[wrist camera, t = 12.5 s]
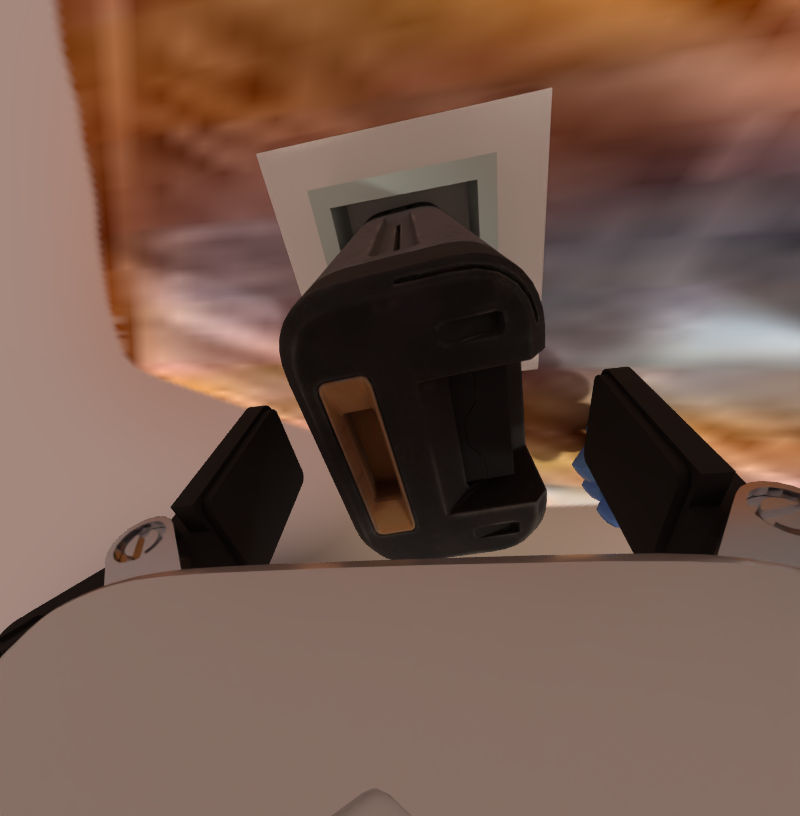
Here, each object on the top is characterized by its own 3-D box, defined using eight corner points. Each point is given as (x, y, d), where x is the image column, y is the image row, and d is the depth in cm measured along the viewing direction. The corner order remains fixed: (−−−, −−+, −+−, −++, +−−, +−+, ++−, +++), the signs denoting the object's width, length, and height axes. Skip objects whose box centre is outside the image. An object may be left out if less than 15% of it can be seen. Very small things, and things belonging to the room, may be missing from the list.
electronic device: (461, 328, 28) (551, 551, 11) (388, 344, 29) (370, 575, 12) (442, 194, 23) (552, 234, 6) (355, 218, 24) (244, 309, 7)
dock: (546, 90, 21) (587, 65, 16) (534, 363, 31) (557, 400, 26) (261, 154, 23) (218, 149, 18) (334, 388, 33) (319, 427, 28)
